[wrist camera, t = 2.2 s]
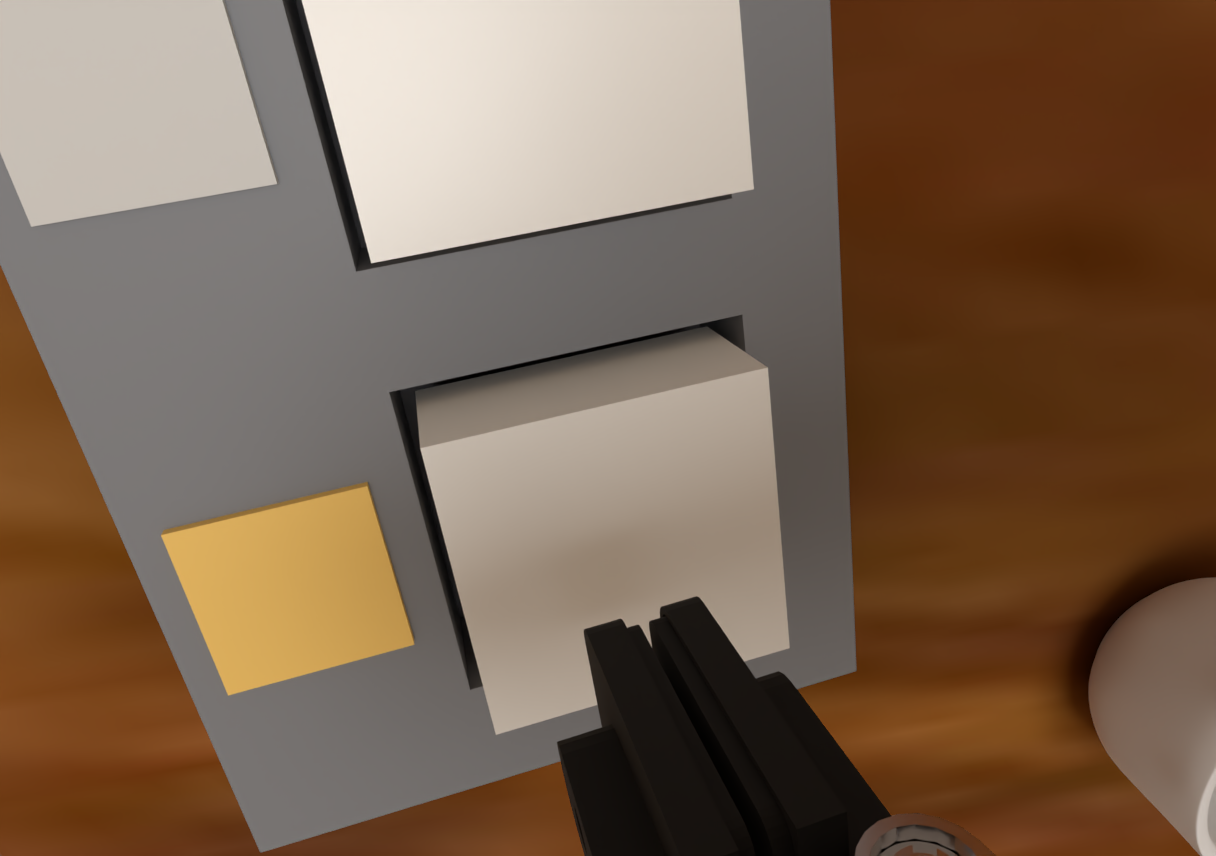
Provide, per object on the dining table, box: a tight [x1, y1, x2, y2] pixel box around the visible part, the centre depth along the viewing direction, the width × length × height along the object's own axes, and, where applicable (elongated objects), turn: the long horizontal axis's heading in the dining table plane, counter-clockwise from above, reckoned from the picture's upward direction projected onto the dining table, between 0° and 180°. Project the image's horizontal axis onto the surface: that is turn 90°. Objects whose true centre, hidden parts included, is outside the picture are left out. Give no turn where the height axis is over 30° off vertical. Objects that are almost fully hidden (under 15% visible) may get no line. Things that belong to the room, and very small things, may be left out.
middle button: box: [302, 0, 754, 263], centre depth 13 cm, size 6×6×3 cm
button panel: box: [0, 0, 856, 853], centre depth 14 cm, size 14×30×3 cm, turn 9°
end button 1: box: [415, 327, 790, 735], centre depth 16 cm, size 6×6×3 cm
